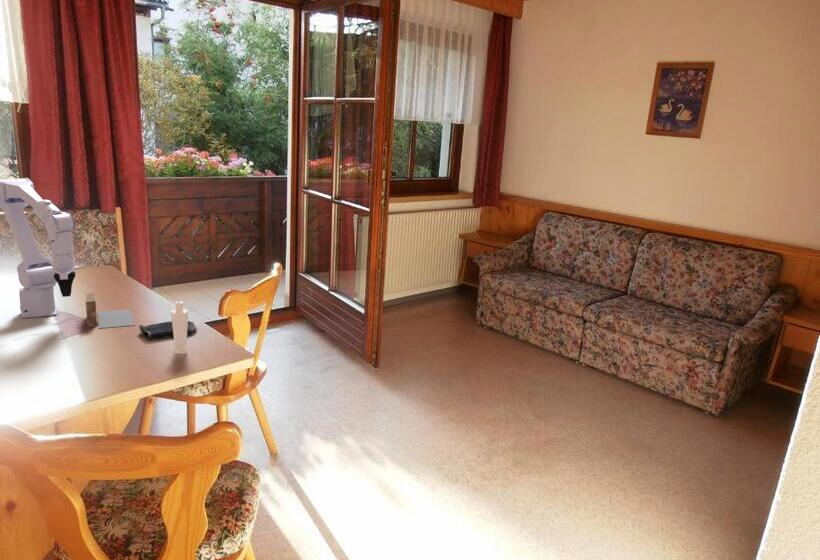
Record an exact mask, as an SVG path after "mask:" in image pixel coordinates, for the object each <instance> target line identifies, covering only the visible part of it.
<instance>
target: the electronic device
mask: <svg viewBox="0 0 820 560" xmlns="http://www.w3.org/2000/svg"><path fill="white" fill-rule="evenodd" d="M138 329H139V331H140V334H142V335H143V336H144V337H145V338H146V339H148V340H149V341H152V340H158V339H164V338H170V337H174V335H173V326H172V320H171V321H165V322H159V323H155V324H149V325H145V326H143V324H139V325H138ZM196 330H198V329H197V327H196V325H195V322H193V321H190V320H188V325H187V336H188V335H191V334H193V333H195V332H196Z"/></svg>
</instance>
